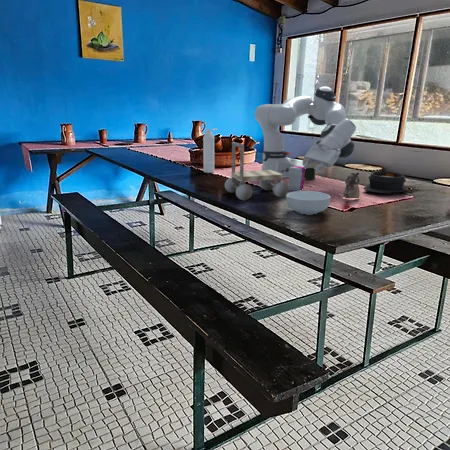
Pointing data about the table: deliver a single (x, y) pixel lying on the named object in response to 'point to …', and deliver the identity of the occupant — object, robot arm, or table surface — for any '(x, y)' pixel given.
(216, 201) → the table surface
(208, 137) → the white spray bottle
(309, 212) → the cereal bowl
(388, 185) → the casserole
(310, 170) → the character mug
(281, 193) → the trolley
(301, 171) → the supplement box
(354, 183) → the figurine
